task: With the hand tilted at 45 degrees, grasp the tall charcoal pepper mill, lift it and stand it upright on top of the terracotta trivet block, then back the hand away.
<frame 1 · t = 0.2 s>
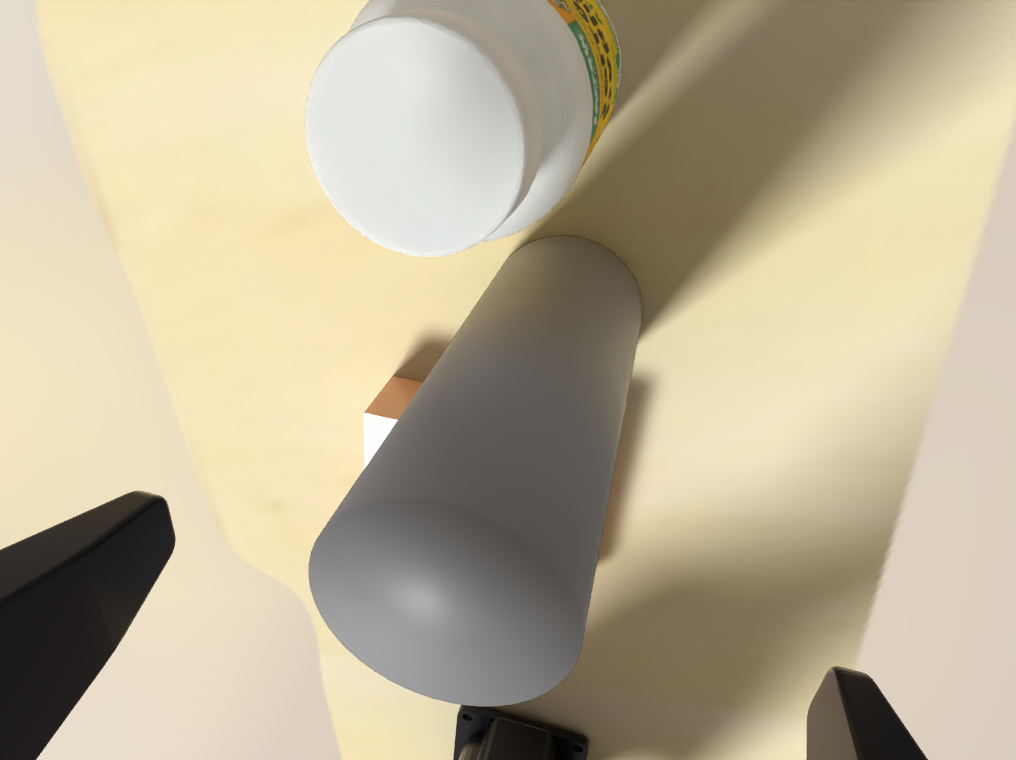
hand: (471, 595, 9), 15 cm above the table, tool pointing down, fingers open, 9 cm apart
terracotta block: (490, 477, 28), on the table
supplement bottle: (530, 71, 20), on the table
charcoal mill: (565, 309, 23), on the table
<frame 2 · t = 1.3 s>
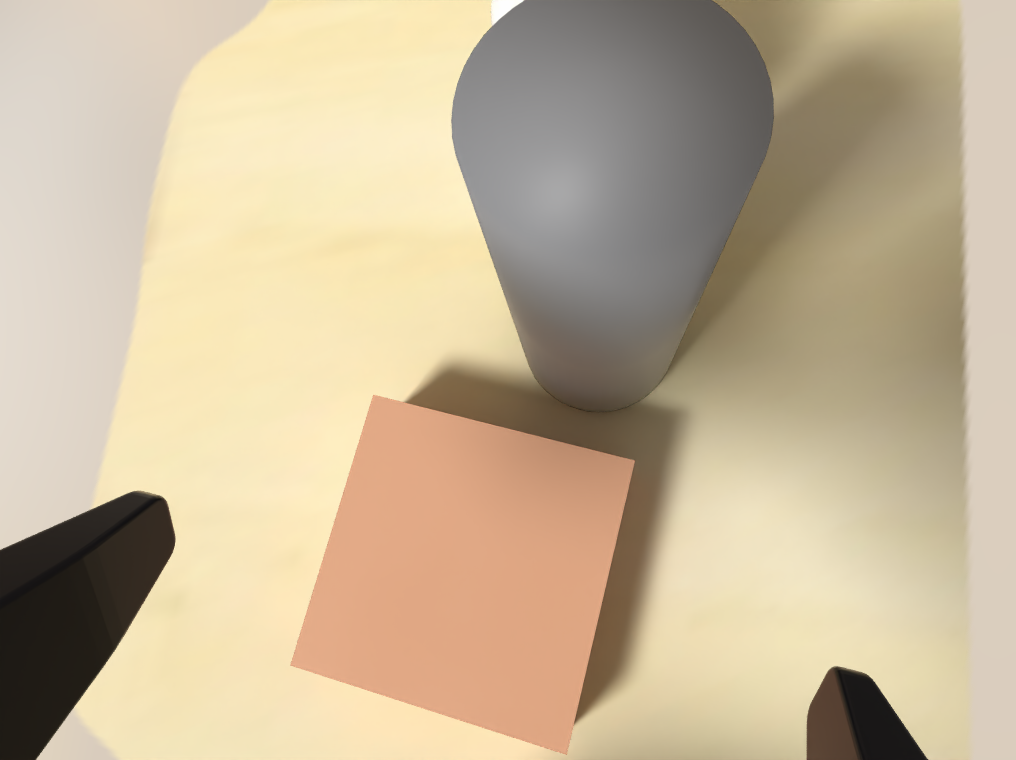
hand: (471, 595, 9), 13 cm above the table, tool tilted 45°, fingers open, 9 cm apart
terracotta block: (479, 559, 23), on the table
supplement bottle: (590, 145, 26), on the table
charcoal mill: (598, 338, 24), on the table
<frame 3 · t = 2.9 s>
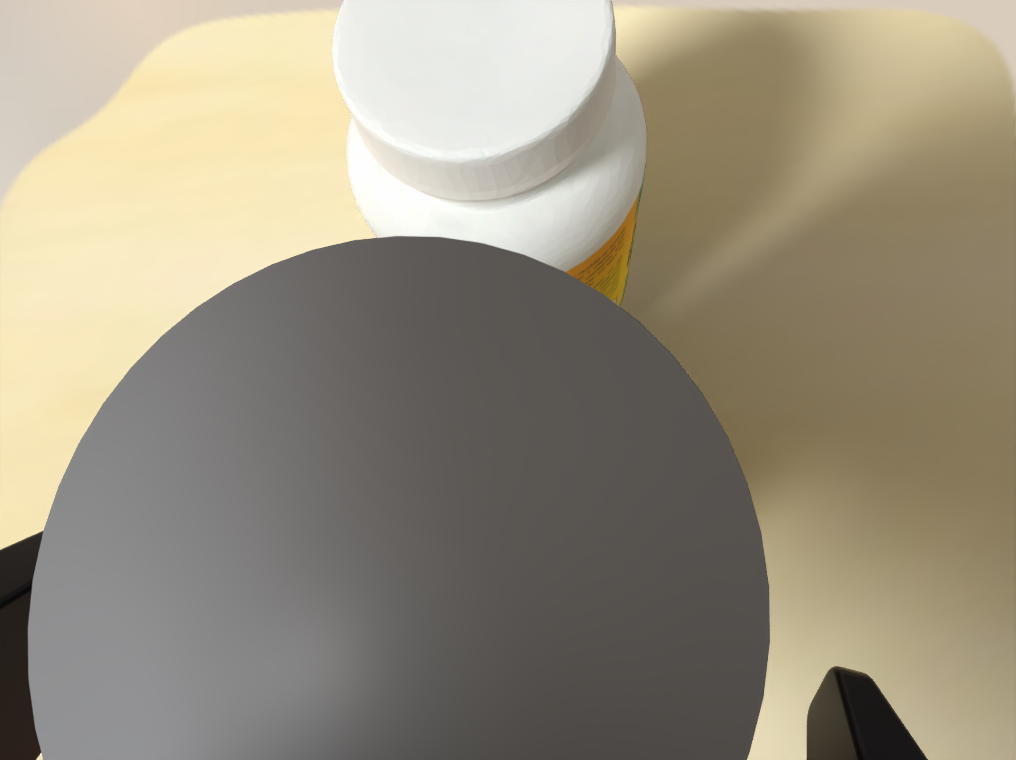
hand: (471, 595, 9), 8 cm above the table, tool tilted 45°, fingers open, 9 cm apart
supplement bottle: (526, 286, 19), on the table
charcoal mill: (530, 563, 17), on the table
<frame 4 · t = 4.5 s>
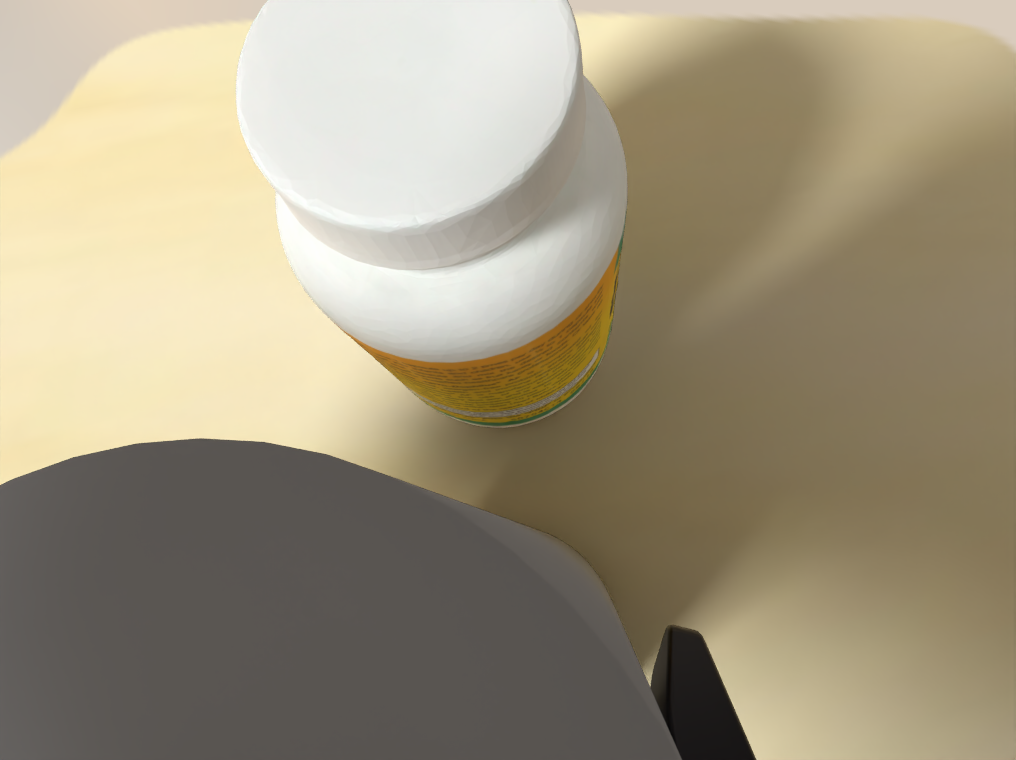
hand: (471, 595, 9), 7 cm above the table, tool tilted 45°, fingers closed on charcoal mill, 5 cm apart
supplement bottle: (502, 326, 17), on the table
charcoal mill: (504, 642, 15), on the table, touching gripper
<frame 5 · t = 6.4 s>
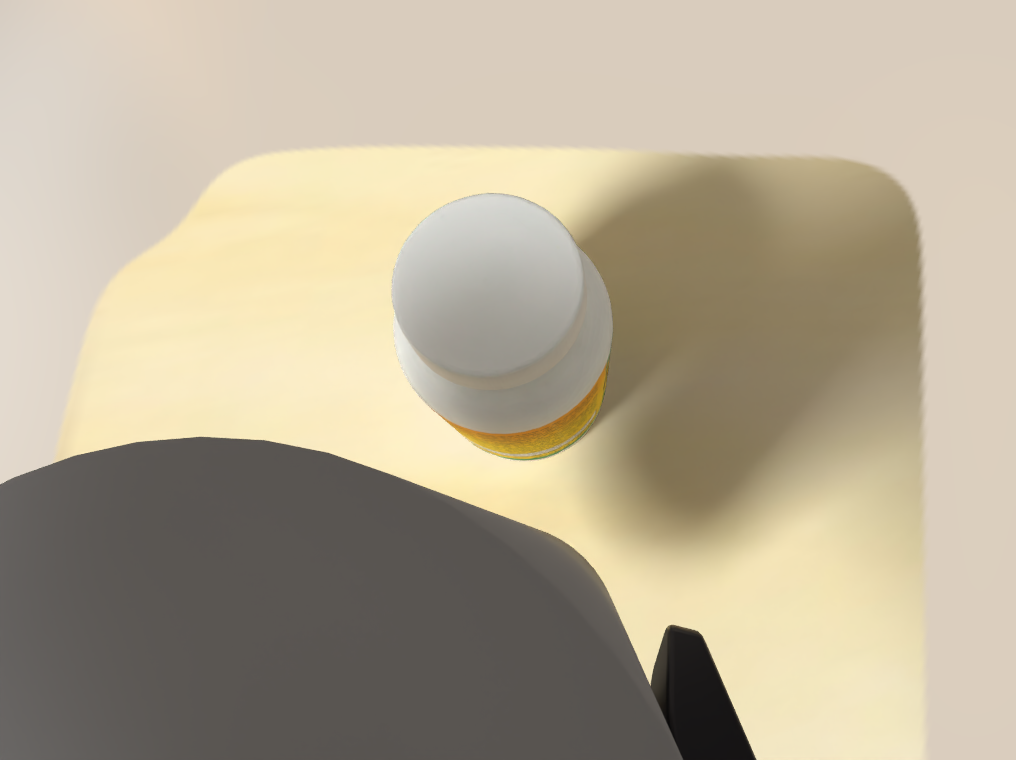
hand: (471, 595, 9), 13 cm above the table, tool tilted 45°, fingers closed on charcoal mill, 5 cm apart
supplement bottle: (525, 385, 24), on the table
charcoal mill: (504, 641, 15), point 7 cm above the table, touching gripper
when the fingers open (11 cm above the table, at t = 8.7 s): charcoal mill drops 2 cm, resting on terracotta block.
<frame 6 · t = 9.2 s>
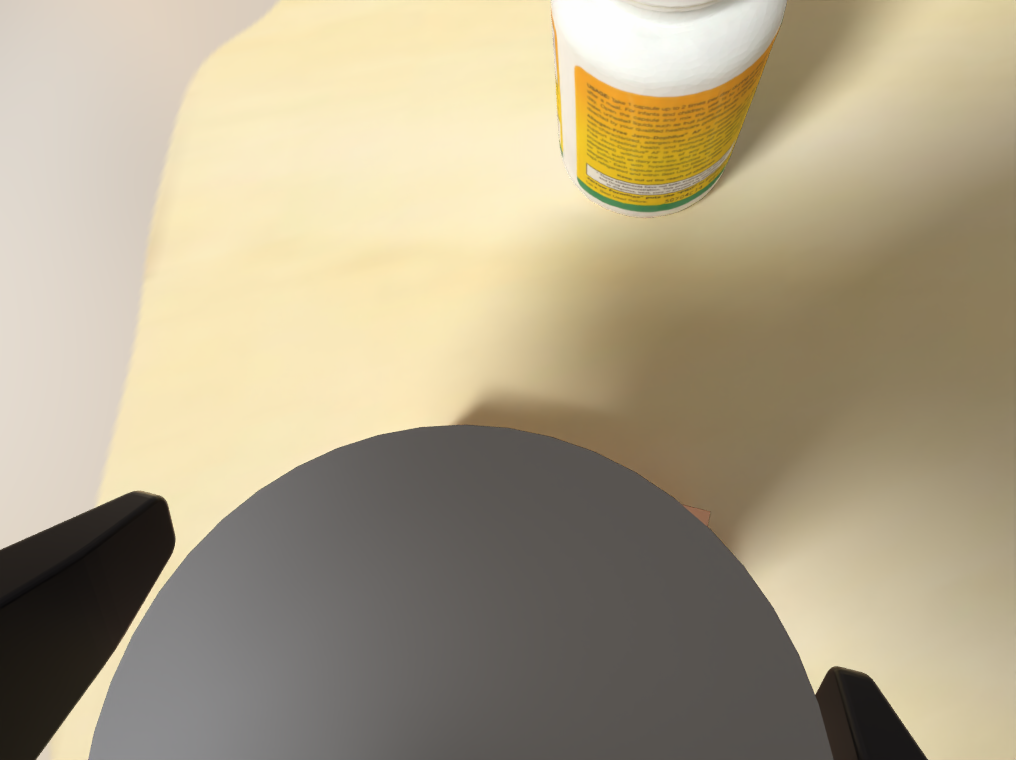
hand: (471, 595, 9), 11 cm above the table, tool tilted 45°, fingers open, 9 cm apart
supplement bottle: (644, 150, 23), on the table
charcoal mill: (521, 633, 17), point 3 cm above the table, touching terracotta block
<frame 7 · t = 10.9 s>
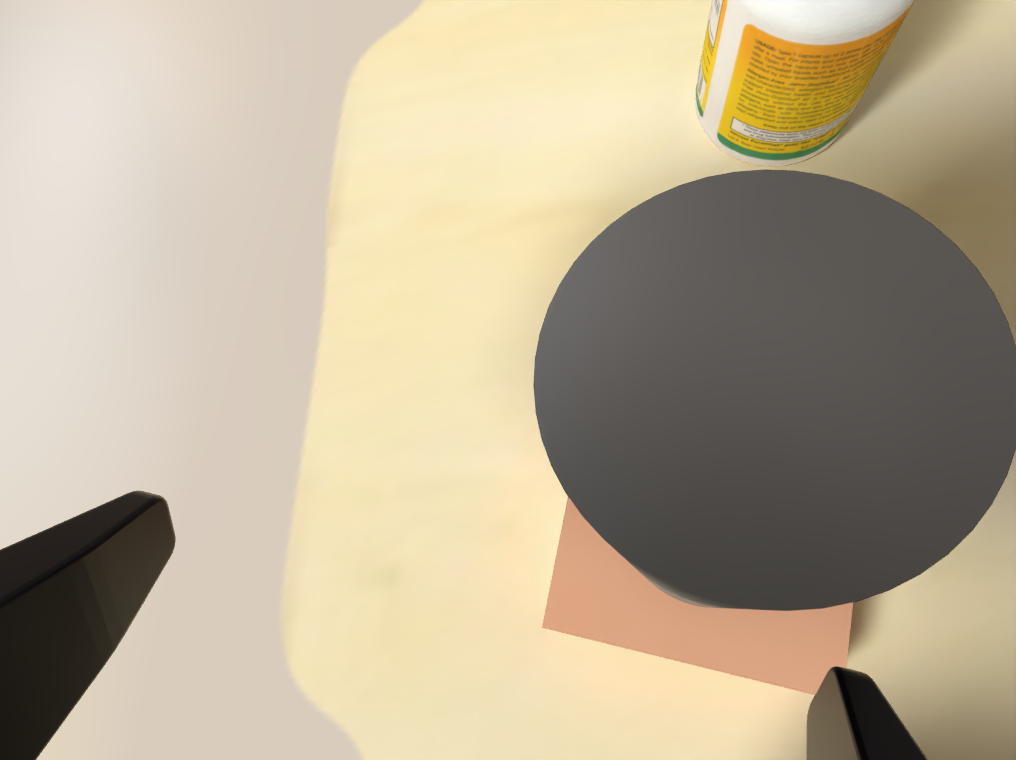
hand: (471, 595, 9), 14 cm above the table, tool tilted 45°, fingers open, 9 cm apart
terracotta block: (697, 521, 23), on the table, touching charcoal mill
supplement bottle: (769, 109, 26), on the table
charcoal mill: (709, 514, 20), point 3 cm above the table, tilted 6°, touching terracotta block
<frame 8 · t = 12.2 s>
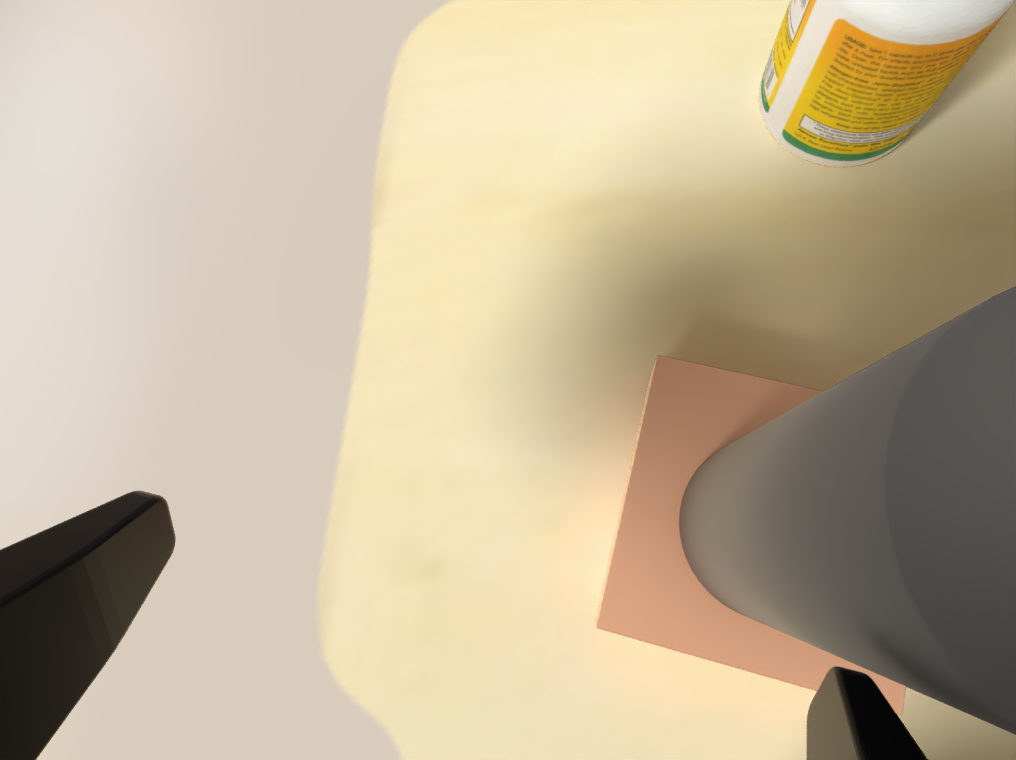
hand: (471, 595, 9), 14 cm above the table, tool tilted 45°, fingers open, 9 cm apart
terracotta block: (747, 525, 23), on the table, touching charcoal mill
supplement bottle: (832, 108, 25), on the table
charcoal mill: (771, 527, 20), point 3 cm above the table, touching terracotta block
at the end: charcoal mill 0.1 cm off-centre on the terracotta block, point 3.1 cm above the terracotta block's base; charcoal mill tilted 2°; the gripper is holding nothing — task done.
